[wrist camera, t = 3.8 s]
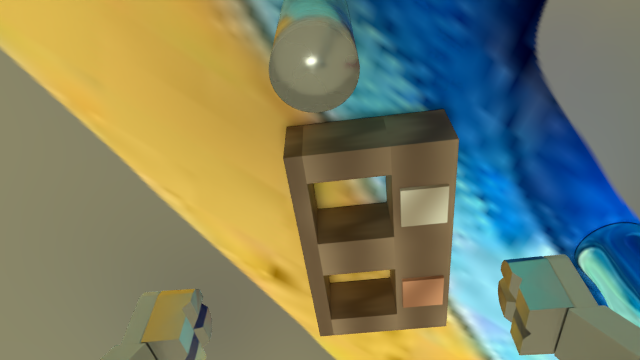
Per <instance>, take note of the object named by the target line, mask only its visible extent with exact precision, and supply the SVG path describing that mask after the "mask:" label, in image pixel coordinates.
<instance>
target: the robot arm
mask: <svg viewBox="0 0 640 360" xmlns="http://www.w3.org/2000/svg"><path fill="white" fill-rule="evenodd" d="M501 272H502V274H503V278H502V279H501V280H500V281H499V285H498V296H499V302H500V306H501V310H502V312H503V315H504V317H505V318H506V319H508V320H509V321H510V322H512V325H511V331H510V333H511V335H512V338H513V340H514V343H515V345H516V348H517V350H518V353H519V355H534V354H555V356H556V357H557V358H558V359H559V360H640V327H638V326H636V325H635V324H633V323H632V322H630V321H628V320H627V319H625V318H624V317H622V316H621V315H619V314H617V313H616V312H614V311H613V310H611V309H610V308H608V307H606V306H598V304H597V303H596V301H595V299H594V298H593V296H592V294H591V293H590V291H589V290H588V288H587V286H586V285H585V283H584V282H583V280H582V278H581V277H580V275H579V274H578V272H577V270H576V269H575V267H574V265H573V264H572V262H571V261H570V259H569V257H567V256H566V255H565V254H563V255H552V256H544V257H542V256H539V257H529V258H520V259H510V260H504V261H503V262H502V265H501ZM202 300H203V296H202V293H201V292H200V290H199V289H186V290H171V291H158V292H145V293H143V295H142V296H141V297H140V298H139V301H138V303H137V305H136V308H135V310H134V313H133V315H132V318H131V320H130V323H129V325H128V328H127V330H126V333H125V335H124V337H123V340H122V342H121V345H116V346H114V347H113V348H112V349H111V350H110V351H109V352H108V353H107V354H105V355H104V356H103V357H102V358H101V359H100V360H206V354H205V352H204V350H203V348H204V347H205V345H206V344H207V343H208V342H209V341H210V337H211V332H212V318H211V313H210V311H209V308H208V307H207V306H205V305H204V304H202Z"/></svg>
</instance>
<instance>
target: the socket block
mask: <svg viewBox="0 0 640 360" xmlns="http://www.w3.org/2000/svg"><path fill="white" fill-rule="evenodd" d="M458 144H459V138H458V136H457V134H456V132H455V130H454V128H453V126H452V124H451V122H450V120H449V118H448V116H447V114H446V112H445V110H444V109H441V110H432V111H424V112H415V113H406V114H397V115H389V116H380V117H371V118H362V119H354V120H345V121H336V122H328V123H319V124H310V125H301V126H293V127H287V129H286V138H285V147H284V156H283V159H284V164H285V169H286V174H287V179H288V183H289V188H290V193H291V198H292V202H293V207H294V212H295V217H296V222H297V226H298V231H299V236H300V241H301V246H302V250H303V255H304V260H305V265H306V269H307V274H308V279H309V284H310V289H311V293H312V298H313V303H314V308H315V313H316V317H317V322H318V327H319V332H320V336H330V335H342V334H355V333H367V332H379V331H391V330H404V329H416V328H428V327H441V326H446V320H447V306H448V291H449V276H450V262H451V247H452V232H453V218H454V203H455V188H456V174H457V159H458ZM377 176H386V192H387V203H377V204H367V205H357V206H347V207H337V208H327V209H317V203H316V197H315V191H314V185H313V183H320V182H329V181H339V180H348V179H358V178H367V177H377ZM380 270H390V276H391V278H385V279H374V280H363V281H352V282H340V283H330V280H329V275H336V274H347V273H358V272H369V271H380Z"/></svg>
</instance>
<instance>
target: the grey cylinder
mask: <svg viewBox="0 0 640 360" xmlns="http://www.w3.org/2000/svg"><path fill="white" fill-rule="evenodd" d="M359 73H360V66H359V59H358V55H357V50H356V45H355V40H354V36H353V31H352V26H351V21H350V16H349V12H348V7H347V3H346V0H283V4H282V8H281V13H280V17H279V21H278V26H277V30H276V35H275V39H274V43H273V48H272V52H271V57H270V62H269V77H270V81H271V84H272V86H273V88H274V90H275V92H276V93H277V94H278V96H279V97H280V98H281V99H282V100H283V101H284V102H285V103H287V104H288V105H290V106H291V107H293V108H295V109H298V110H301V111H305V112H314V113H315V112H324V111H328V110H331V109H333V108H336V107H337V106H339V105H341V104H342V103H343V102H345V101H346V100H347V99H348V98H349V97H350V95H351V94H352V93H353V91H354V89H355V87H356V85H357V83H358V79H359Z"/></svg>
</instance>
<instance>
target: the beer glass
mask: <svg viewBox="0 0 640 360" xmlns="http://www.w3.org/2000/svg"><path fill="white" fill-rule="evenodd" d="M575 261H576V264H577V265H578V267H579V268H580V269H581V270H582V271H583V272H584V273H585V275H586V276H587V277H588V278H589V279H590V280H591V281H592V282H593V283H594V284H595V285H596V286H597V287H598V289H599V290H600V292H601V293H602V295H603V297H604V298H605V300H606V302H607V304H608V307H609V308H610V309H611V310H613V311H614V312H616V313H617V314H619V315H621V316H622V317H624V318H625V319H627V320H628V321H630V322H632V323H633V324H635V325H636V326H638V327H640V225H637V224H633V223H617V224H612V225H608V226H605V227H603V228H600V229H598V230H596V231H594V232H593V233H591V234H590V235H588V236H587V237H586V238H585V239H584V240H583V241H582V242H581V243H580V245H579V246H578V248H577V250H576V253H575Z"/></svg>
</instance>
